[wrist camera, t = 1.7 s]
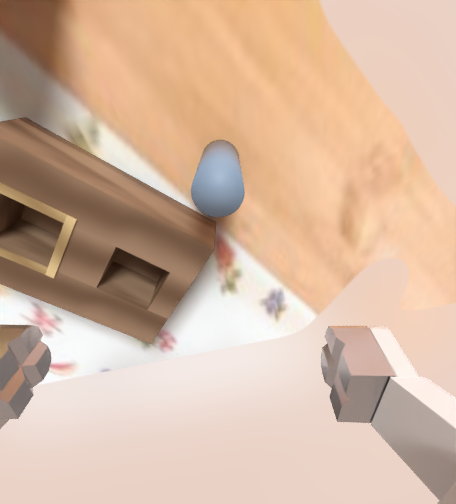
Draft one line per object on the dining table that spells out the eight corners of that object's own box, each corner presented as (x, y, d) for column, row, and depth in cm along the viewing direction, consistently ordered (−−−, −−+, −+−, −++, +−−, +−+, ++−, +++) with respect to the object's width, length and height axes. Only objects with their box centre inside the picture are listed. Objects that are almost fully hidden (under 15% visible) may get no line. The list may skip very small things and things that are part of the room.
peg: (226, 184, 30) (226, 225, 21) (195, 165, 29) (181, 201, 20) (246, 153, 28) (254, 183, 19) (213, 132, 27) (207, 154, 19)
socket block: (161, 308, 38) (150, 345, 32) (-4, 235, 32) (-50, 265, 27) (216, 222, 32) (214, 250, 26) (25, 117, 27) (-26, 125, 21)
